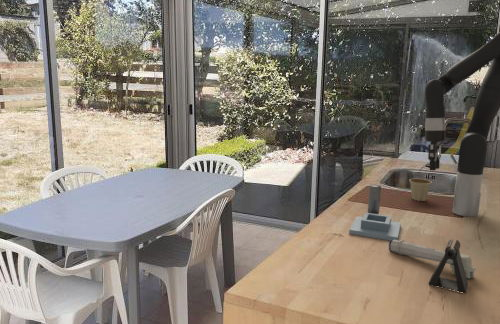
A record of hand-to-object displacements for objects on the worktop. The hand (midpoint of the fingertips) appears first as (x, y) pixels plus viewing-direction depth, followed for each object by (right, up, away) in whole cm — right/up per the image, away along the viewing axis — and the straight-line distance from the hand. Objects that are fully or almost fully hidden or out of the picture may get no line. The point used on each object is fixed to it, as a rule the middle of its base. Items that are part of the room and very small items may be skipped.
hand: (434, 169), depth 174 cm
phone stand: (-22, -30, -59) cm, 70 cm away
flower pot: (+1, -14, +20) cm, 24 cm away
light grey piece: (-22, -28, -46) cm, 58 cm away
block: (-30, -22, -20) cm, 42 cm away
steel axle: (-26, -18, -3) cm, 32 cm away
